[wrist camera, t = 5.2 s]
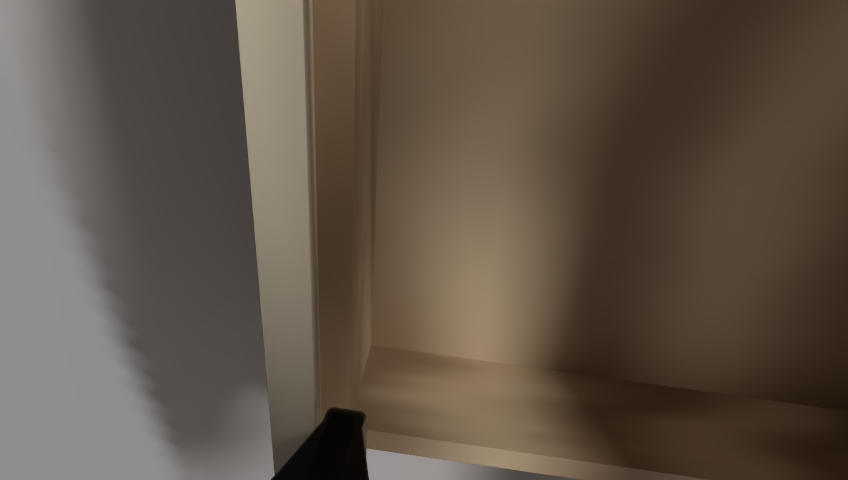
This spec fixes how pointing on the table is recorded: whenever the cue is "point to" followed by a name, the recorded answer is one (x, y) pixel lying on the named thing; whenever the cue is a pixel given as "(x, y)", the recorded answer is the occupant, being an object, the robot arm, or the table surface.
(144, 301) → the table surface
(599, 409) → the carton
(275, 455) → the flap
